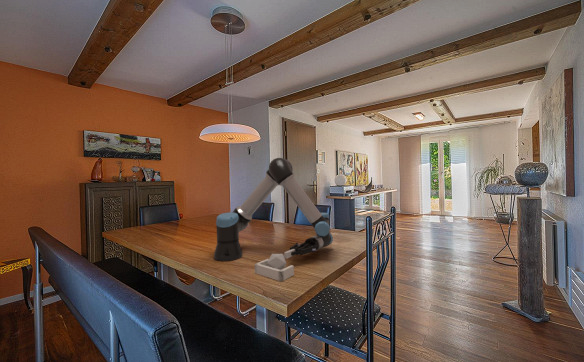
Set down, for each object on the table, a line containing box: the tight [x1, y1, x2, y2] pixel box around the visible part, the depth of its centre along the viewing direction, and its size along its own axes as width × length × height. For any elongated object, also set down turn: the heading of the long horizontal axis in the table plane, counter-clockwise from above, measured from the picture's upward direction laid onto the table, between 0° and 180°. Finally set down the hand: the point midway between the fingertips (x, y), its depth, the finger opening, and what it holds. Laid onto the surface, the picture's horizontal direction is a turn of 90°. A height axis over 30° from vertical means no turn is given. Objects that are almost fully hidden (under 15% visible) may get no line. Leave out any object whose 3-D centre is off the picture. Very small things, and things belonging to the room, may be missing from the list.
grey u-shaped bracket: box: [253, 258, 295, 282], centre depth 109 cm, size 16×8×4 cm, turn 51°
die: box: [268, 253, 287, 270], centre depth 112 cm, size 8×9×10 cm
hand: (285, 255), depth 115 cm, fingers closed
